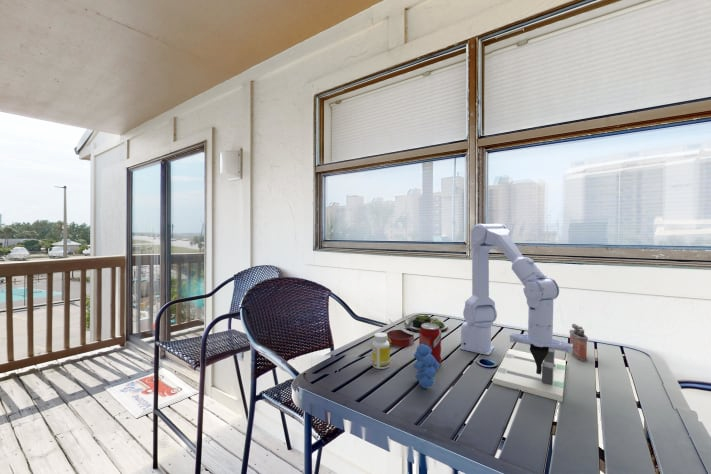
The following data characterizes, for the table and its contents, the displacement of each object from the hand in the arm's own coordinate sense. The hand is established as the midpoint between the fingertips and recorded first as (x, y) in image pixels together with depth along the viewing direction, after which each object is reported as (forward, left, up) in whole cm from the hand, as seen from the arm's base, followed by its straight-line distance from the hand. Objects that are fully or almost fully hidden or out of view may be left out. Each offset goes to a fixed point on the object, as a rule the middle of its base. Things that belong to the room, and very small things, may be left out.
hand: (539, 372), depth 86 cm
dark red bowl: (-45, +7, -4) cm, 46 cm away
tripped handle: (+2, 0, -2) cm, 3 cm away
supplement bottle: (-41, -14, -4) cm, 44 cm away
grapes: (-24, -18, -4) cm, 31 cm away
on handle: (+2, +12, -2) cm, 12 cm away
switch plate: (-2, +6, -3) cm, 7 cm away
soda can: (-29, -4, -4) cm, 30 cm away
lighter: (+9, +28, -4) cm, 29 cm away
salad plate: (-44, +28, -4) cm, 53 cm away
